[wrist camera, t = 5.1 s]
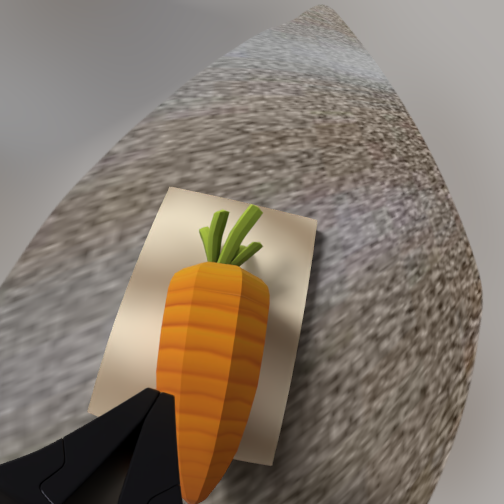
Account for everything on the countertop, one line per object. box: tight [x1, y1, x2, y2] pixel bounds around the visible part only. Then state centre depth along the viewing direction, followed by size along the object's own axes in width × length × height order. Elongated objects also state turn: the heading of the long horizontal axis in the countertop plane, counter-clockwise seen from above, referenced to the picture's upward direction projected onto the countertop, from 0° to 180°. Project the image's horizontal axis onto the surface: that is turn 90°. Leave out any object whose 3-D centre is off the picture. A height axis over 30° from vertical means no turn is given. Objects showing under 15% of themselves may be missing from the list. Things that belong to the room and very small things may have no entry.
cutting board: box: [88, 187, 317, 466], centre depth 17 cm, size 15×10×1 cm, turn 168°
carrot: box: [156, 204, 270, 504], centre depth 14 cm, size 5×5×15 cm
